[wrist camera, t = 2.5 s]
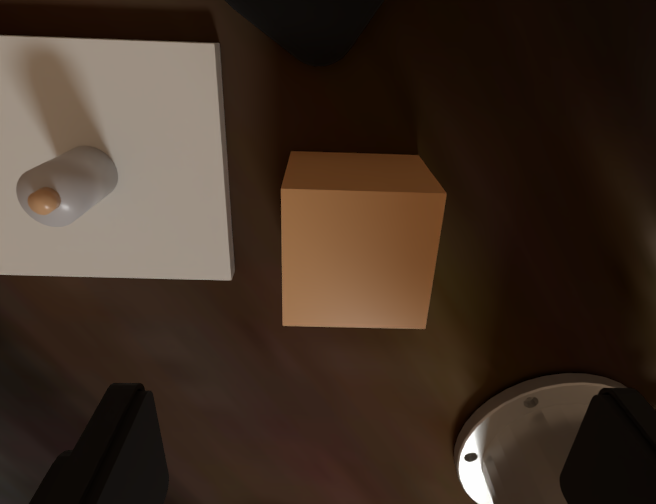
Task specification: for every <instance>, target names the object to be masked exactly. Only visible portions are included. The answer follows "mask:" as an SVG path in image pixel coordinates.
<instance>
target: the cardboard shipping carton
mask: <svg viewBox="0 0 656 504" xmlns="http://www.w3.org/2000/svg"><path fill="white" fill-rule="evenodd" d="M446 196H447V193H446V192H445V190H444V189H443V188H442V186H441V185H440V184H439V182H438V181H437V180H436V178H435V177H434V176H433V174H432V173H431V172H430V170H429V169H428V167H427V166H426V165H425V163H424V162H423V161H422V159H421V158H420V157H419V155H400V154H369V153H337V152H305V151H291V153H290V156H289V160H288V164H287V168H286V171H285V175H284V179H283V183H282V186H281V232H282V306H283V326H313V327H357V328H401V329H425V328H426V321H427V315H428V309H429V302H430V296H431V290H432V284H433V277H434V271H435V265H436V258H437V252H438V246H439V240H440V233H441V227H442V221H443V214H444V208H445V202H446Z"/></svg>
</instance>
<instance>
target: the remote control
mask: <svg viewBox="0 0 656 504" xmlns="http://www.w3.org/2000/svg"><path fill="white" fill-rule="evenodd" d="M225 1H226V2H227V3H228V4H229V5H230V6H231V7H232V8H233V9H234V10H236V11H237V12H238V13H240V14H241V15H242V16H243V17H245V18H246V19H247V20H248V21H250V22H251V23H252V24H254V25H255V26H256V27H257V28H259V29H260V30H261V31H262V32H264V33H265V34H266V35H267V36H269V37H270V38H271V39H273V40H274V41H275V42H276V43H278V44H279V45H280V46H281V47H283V48H284V49H285V50H287V51H288V52H289V53H290V54H292V55H293V56H294V57H295V58H297V59H298V60H300V61H302V62H303V63H305V64H308V65H312V66H327V65H330V64H333V63H335V62H337V61H338V60H340V59H341V58H343V57H344V55H345V54H346V53H347V52H348V51H349V50H350V48H351V47H352V46H353V44H354V43H355V41H356V40H357V38H358V37H359V36H360V34H361V33H362V31H363V30H364V28H365V27H366V25H367V24H368V23H369V21H370V20H371V18H372V17H373V15H374V14H375V13H376V11H377V10H378V8H379V7H380V5H381V4H382V3H383V1H384V0H225Z"/></svg>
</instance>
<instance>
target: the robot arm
mask: <svg viewBox="0 0 656 504" xmlns="http://www.w3.org/2000/svg"><path fill="white" fill-rule="evenodd" d="M454 463H455V467H456V471H457V475H458V478H459V480H460V483H461V485H462V487H463V489H464V490H465V492H466V493H467V494H468V495H469V497H470V498H471V499H473V500H474V501H475V502H476V503H478V504H656V411H655V410H654V409H653V408H652V407H651V405H650V404H649V403H648V402H647V401H646V400H645V399H644V397H643V396H642V395H641V394H640V393H639V392H638V391H637V390H635V389H633V388H627V387H626V386H624V385H623V384H621V383H619V382H617V381H614V380H611V379H609V378H606V377H603V376H597V375H592V374H586V373H563V374H555V375H547V376H542V377H538V378H535V379H531V380H527V381H524V382H522V383H519V384H517V385H515V386H512V387H510V388H507V389H506V390H504V391H502V392H501V393H499V394H497V395H495V396H494V397H492V398H490V399H489V400H488V401H487V402H486V403H484V404H483V405H482V406H481V407H479V408H478V409H477V410H476V411H475V412H474V413H473V414H472V416H471V417H470V418H469V419H468V420H467V421H466V422H465V424H464V426H463V428H462V429H461V431H460V433H459V435H458V437H457V441H456V444H455V447H454ZM168 483H169V474H168V469H167V464H166V459H165V453H164V448H163V443H162V438H161V433H160V428H159V423H158V418H157V413H156V407H155V402H154V397H153V393H152V392H151V391H145V389H144V386H143V384H141V383H113V384H111V385H110V386H109V388H108V389H107V391H106V393H105V394H104V396H103V398H102V400H101V401H100V403H99V405H98V407H97V408H96V410H95V412H94V414H93V416H92V417H91V419H90V421H89V423H88V424H87V426H86V428H85V430H84V432H83V433H82V435H81V437H80V439H79V440H78V442H77V444H76V446H75V448H74V449H73V450H68V451H64V452H63V453H61V454H60V455H59V456H58V457H57V458H56V460H55V461H54V463H53V464H52V466H51V467H50V469H49V471H48V472H47V474H46V476H45V477H44V479H43V481H42V482H41V484H40V486H39V488H38V489H37V491H36V493H35V494H34V496H33V498H32V499H31V501H30V503H29V504H163V503H164V500H165V497H166V494H167V490H168Z"/></svg>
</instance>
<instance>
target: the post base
mask: <svg viewBox="0 0 656 504" xmlns="http://www.w3.org/2000/svg"><path fill="white" fill-rule="evenodd" d="M234 272H235V267H234V252H233V237H232V222H231V207H230V192H229V177H228V162H227V148H226V133H225V118H224V103H223V88H222V73H221V58H220V43H208V42H181V41H153V40H126V39H99V38H72V37H44V36H17V35H0V275H35V276H75V277H115V278H155V279H195V280H232V277H233V274H234Z"/></svg>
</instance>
